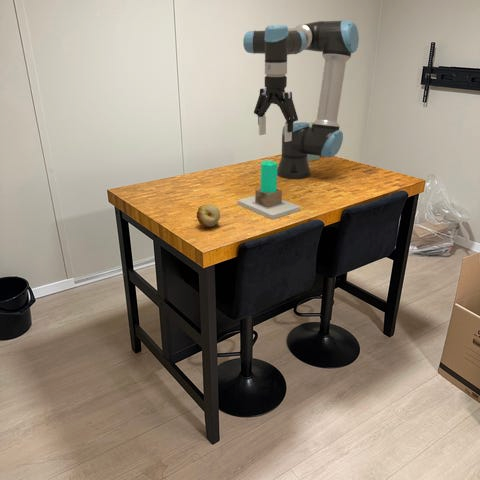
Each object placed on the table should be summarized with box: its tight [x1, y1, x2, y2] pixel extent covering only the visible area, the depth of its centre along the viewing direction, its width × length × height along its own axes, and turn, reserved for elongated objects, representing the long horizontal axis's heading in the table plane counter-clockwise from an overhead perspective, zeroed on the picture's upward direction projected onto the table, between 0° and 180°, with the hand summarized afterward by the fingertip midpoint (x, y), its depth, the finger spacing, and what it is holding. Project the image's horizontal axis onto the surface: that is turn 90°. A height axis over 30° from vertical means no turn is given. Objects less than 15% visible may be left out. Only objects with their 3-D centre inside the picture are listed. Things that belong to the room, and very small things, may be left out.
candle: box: [260, 158, 279, 193], centre depth 169 cm, size 6×6×12 cm
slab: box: [236, 195, 302, 220], centre depth 174 cm, size 20×14×2 cm
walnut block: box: [254, 188, 283, 208], centre depth 172 cm, size 7×7×5 cm
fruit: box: [196, 203, 221, 228], centre depth 156 cm, size 8×8×8 cm
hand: (274, 137), depth 166 cm, fingers open, 13 cm apart
